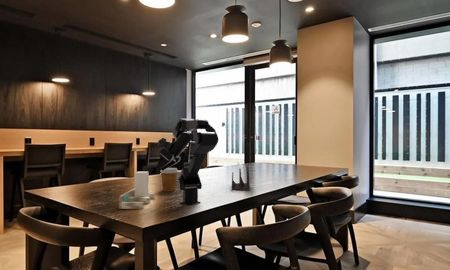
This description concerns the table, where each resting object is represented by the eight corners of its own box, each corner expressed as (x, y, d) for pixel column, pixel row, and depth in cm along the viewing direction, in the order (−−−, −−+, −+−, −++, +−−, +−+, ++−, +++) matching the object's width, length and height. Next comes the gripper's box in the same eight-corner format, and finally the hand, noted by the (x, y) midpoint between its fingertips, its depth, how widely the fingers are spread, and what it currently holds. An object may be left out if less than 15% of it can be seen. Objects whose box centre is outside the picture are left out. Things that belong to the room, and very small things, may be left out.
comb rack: (155, 198, 139) (155, 187, 139) (142, 208, 118) (142, 196, 118) (135, 198, 139) (135, 187, 139) (119, 208, 118) (119, 196, 118)
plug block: (148, 199, 137) (148, 171, 137) (145, 201, 132) (145, 172, 132) (137, 199, 137) (137, 171, 137) (134, 201, 132) (134, 172, 132)
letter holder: (247, 185, 181) (248, 162, 181) (249, 191, 161) (249, 165, 162) (231, 185, 182) (231, 162, 182) (231, 190, 162) (231, 165, 162)
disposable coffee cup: (158, 191, 157) (158, 169, 157) (162, 188, 166) (162, 167, 166) (175, 192, 156) (175, 169, 157) (179, 189, 166) (179, 167, 166)
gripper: (172, 135, 147) (152, 159, 146) (162, 129, 128) (139, 157, 127) (189, 149, 145) (168, 174, 144) (181, 145, 127) (158, 174, 126)
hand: (158, 169), depth 136 cm, fingers open, 9 cm apart
